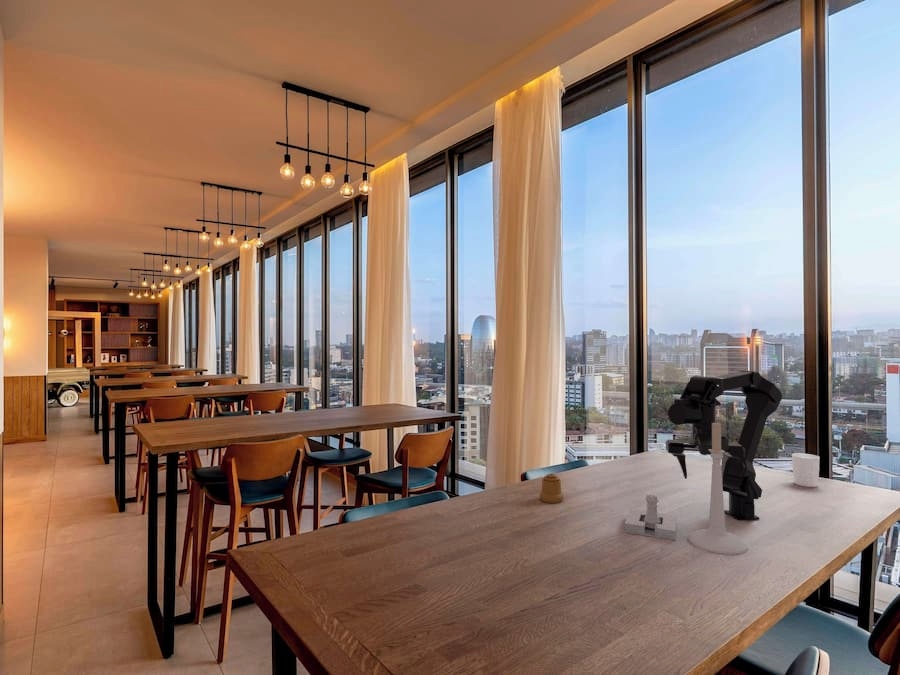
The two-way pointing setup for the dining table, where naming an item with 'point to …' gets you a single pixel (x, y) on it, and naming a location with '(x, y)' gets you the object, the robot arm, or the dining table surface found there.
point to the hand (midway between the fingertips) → (704, 479)
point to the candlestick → (717, 510)
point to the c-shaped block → (662, 530)
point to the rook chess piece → (651, 512)
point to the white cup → (805, 469)
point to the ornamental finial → (551, 489)
